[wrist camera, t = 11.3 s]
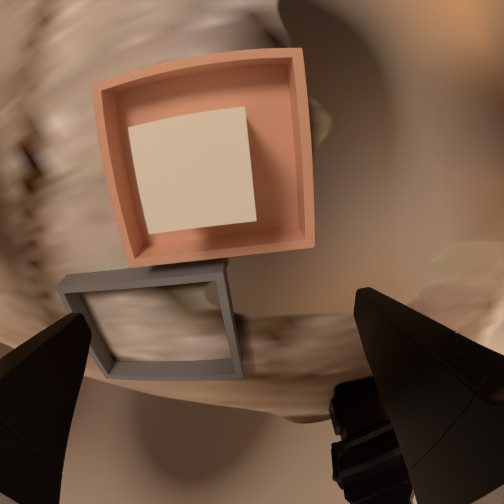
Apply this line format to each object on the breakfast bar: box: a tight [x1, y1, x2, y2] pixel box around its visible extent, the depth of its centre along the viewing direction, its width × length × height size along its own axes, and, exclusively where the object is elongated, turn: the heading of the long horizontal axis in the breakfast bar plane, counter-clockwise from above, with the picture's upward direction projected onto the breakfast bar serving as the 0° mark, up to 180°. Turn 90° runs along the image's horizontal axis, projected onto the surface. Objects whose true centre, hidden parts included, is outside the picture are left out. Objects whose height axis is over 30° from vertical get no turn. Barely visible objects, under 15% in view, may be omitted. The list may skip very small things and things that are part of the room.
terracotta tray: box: [92, 48, 315, 268], centre depth 16 cm, size 12×12×2 cm
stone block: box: [128, 107, 257, 234], centre depth 14 cm, size 5×5×6 cm
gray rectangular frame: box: [56, 258, 243, 381], centre depth 22 cm, size 14×11×2 cm
